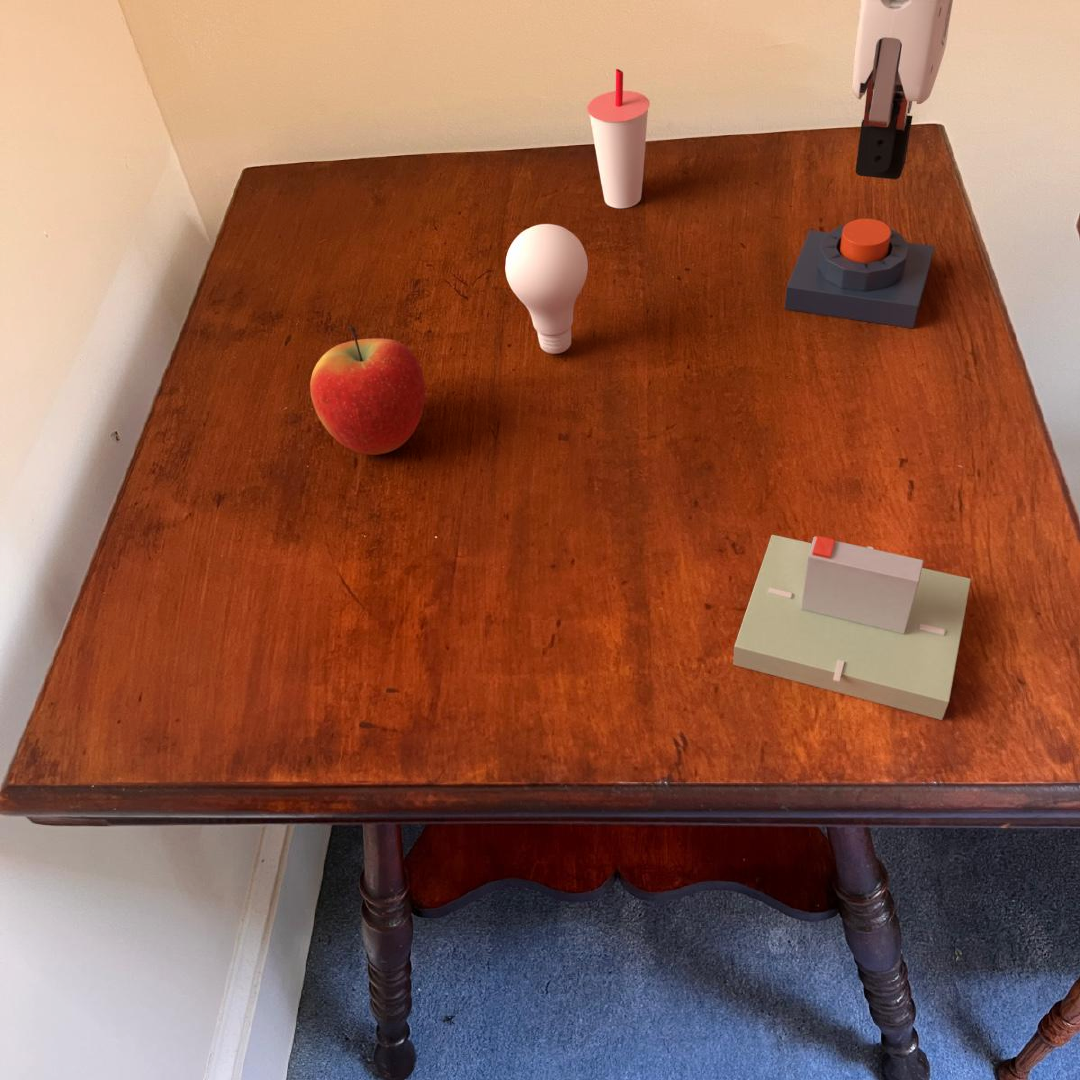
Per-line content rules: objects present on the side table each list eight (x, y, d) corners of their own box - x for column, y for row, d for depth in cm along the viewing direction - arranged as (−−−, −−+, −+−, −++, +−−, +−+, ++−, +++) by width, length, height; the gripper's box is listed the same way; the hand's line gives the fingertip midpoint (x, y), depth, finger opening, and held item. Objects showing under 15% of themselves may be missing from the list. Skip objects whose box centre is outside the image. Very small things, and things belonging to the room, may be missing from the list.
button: (891, 240, 81) (894, 221, 80) (883, 267, 79) (886, 247, 78) (845, 235, 82) (847, 215, 81) (835, 261, 80) (838, 241, 79)
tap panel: (965, 591, 64) (973, 569, 62) (940, 729, 58) (948, 709, 56) (772, 547, 67) (774, 525, 66) (730, 673, 62) (731, 652, 60)
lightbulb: (551, 387, 80) (535, 267, 71) (503, 351, 83) (483, 232, 75) (610, 350, 82) (602, 229, 74) (561, 316, 85) (548, 197, 77)
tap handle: (908, 613, 60) (924, 556, 57) (904, 634, 60) (920, 578, 56) (806, 588, 62) (814, 532, 58) (800, 609, 61) (808, 553, 58)
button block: (929, 268, 84) (939, 225, 81) (913, 329, 80) (922, 286, 77) (806, 252, 87) (811, 210, 84) (784, 309, 83) (788, 267, 80)
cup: (652, 181, 97) (649, 53, 88) (651, 213, 94) (647, 84, 85) (595, 183, 98) (587, 57, 89) (591, 215, 94) (582, 87, 85)
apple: (327, 484, 75) (288, 380, 68) (333, 410, 81) (297, 305, 73) (436, 470, 75) (409, 364, 68) (435, 396, 80) (410, 290, 73)
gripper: (970, -62, 56) (916, 234, 70) (1002, -154, 65) (948, 126, 78) (831, -65, 58) (804, 222, 72) (879, -154, 67) (847, 117, 81)
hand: (879, 171), depth 75 cm, fingers closed
